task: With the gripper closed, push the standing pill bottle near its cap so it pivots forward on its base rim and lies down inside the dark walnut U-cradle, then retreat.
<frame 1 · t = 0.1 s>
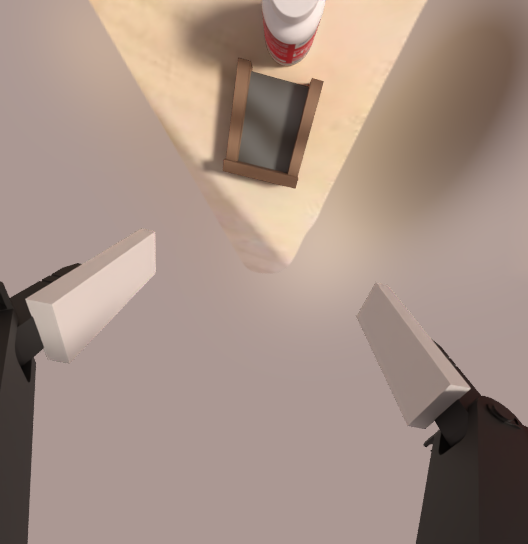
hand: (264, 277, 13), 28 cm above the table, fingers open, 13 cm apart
cradle: (271, 124, 33), on the table
pill bottle: (289, 35, 29), on the table
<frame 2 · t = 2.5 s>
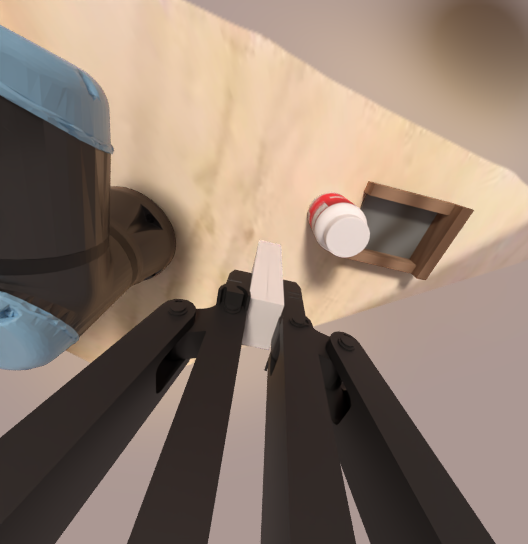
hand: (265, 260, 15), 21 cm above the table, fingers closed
cradle: (387, 227, 35), on the table
pill bottle: (327, 212, 34), on the table
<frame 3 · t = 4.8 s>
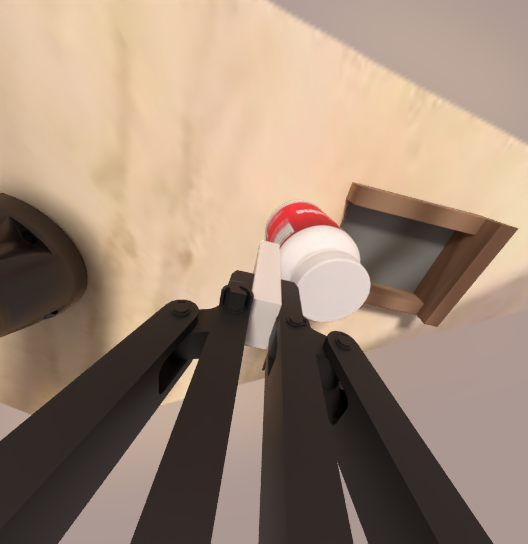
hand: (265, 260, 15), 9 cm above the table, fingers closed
cradle: (382, 249, 24), on the table
pill bottle: (294, 228, 23), on the table
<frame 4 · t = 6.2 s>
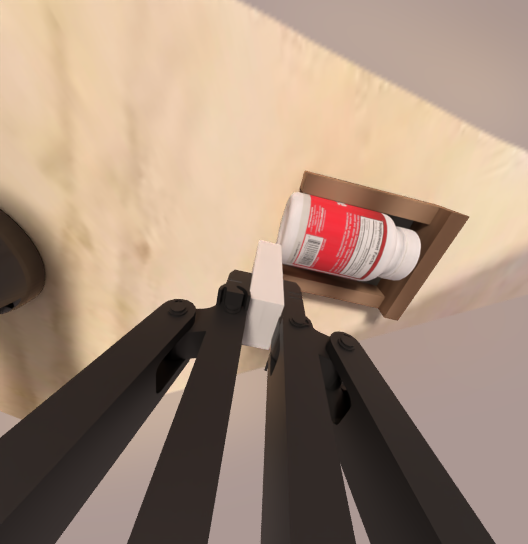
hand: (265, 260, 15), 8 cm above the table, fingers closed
cradle: (341, 240, 23), on the table
pill bottle: (279, 226, 19), point 3 cm above the table, touching cradle
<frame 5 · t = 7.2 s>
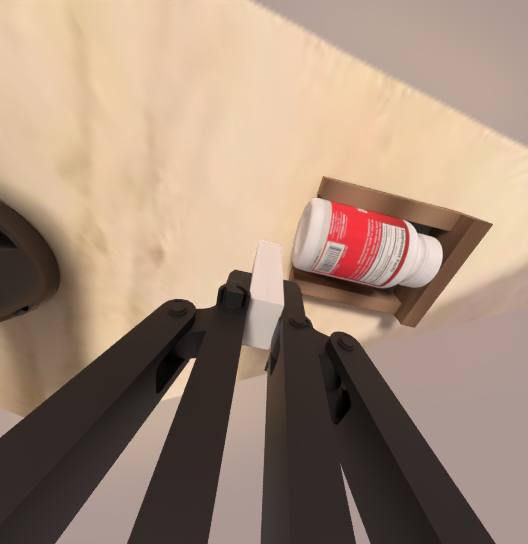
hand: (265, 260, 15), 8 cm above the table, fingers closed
cradle: (357, 246, 23), on the table
pill bottle: (298, 232, 19), point 3 cm above the table, touching cradle
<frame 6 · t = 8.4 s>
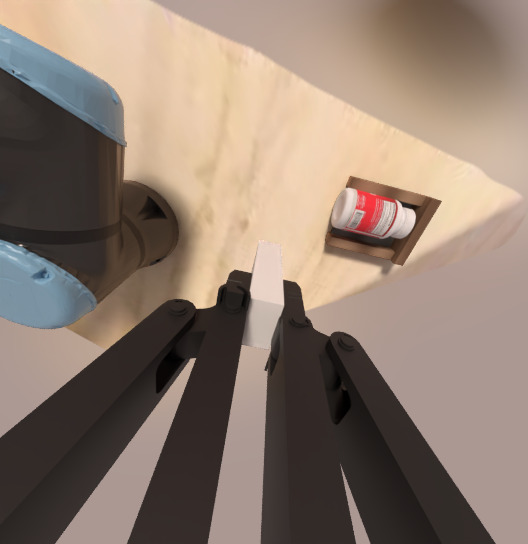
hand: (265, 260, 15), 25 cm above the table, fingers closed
cradle: (368, 217, 39), on the table
pill bottle: (337, 206, 35), point 3 cm above the table, touching cradle
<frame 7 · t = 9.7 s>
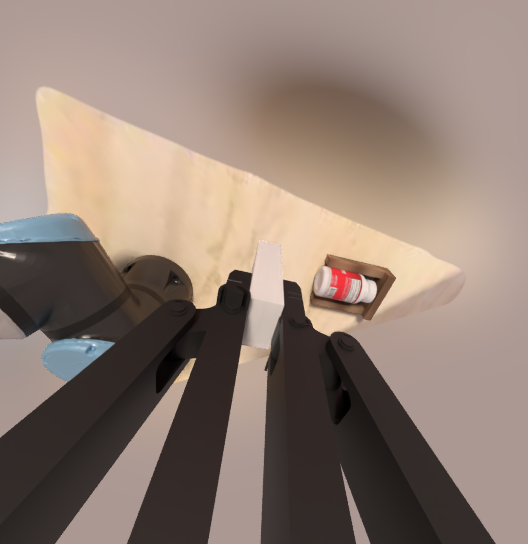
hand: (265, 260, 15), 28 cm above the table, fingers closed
cradle: (343, 282, 49), on the table
pill bottle: (317, 279, 45), point 3 cm above the table, touching cradle
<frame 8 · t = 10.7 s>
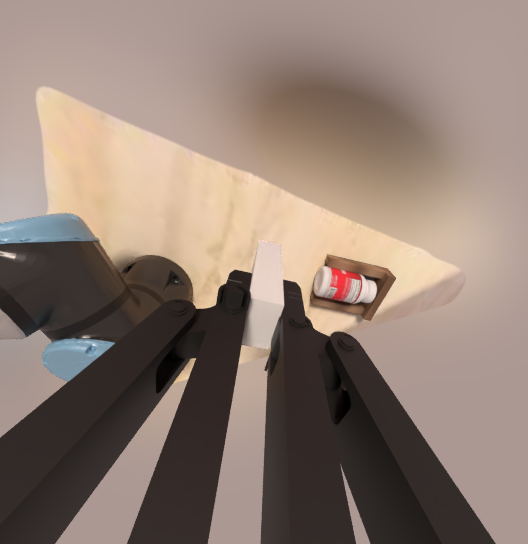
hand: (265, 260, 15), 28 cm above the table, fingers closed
cradle: (343, 282, 49), on the table
pill bottle: (317, 280, 45), point 3 cm above the table, touching cradle
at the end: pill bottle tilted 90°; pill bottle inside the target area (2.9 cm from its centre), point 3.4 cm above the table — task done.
